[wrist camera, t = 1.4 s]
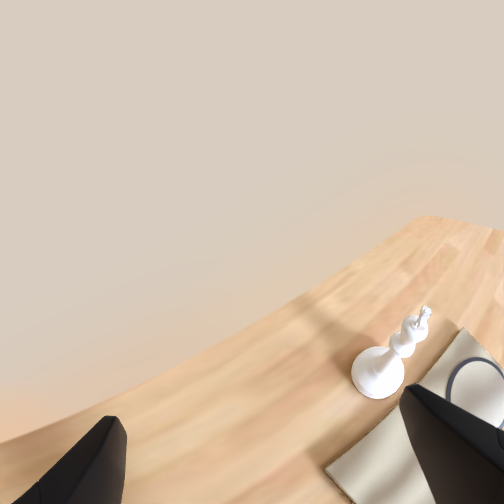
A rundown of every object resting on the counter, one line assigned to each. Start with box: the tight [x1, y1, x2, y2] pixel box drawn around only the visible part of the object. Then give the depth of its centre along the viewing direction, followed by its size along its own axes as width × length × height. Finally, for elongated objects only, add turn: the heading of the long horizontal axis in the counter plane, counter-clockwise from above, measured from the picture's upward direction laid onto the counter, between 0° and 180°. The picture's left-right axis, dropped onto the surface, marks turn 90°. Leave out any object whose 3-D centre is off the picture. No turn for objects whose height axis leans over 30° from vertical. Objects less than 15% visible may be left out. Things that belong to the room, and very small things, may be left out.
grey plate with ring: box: [324, 327, 504, 504], centre depth 18 cm, size 11×20×1 cm, turn 124°
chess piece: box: [351, 305, 432, 399], centre depth 19 cm, size 5×5×10 cm
